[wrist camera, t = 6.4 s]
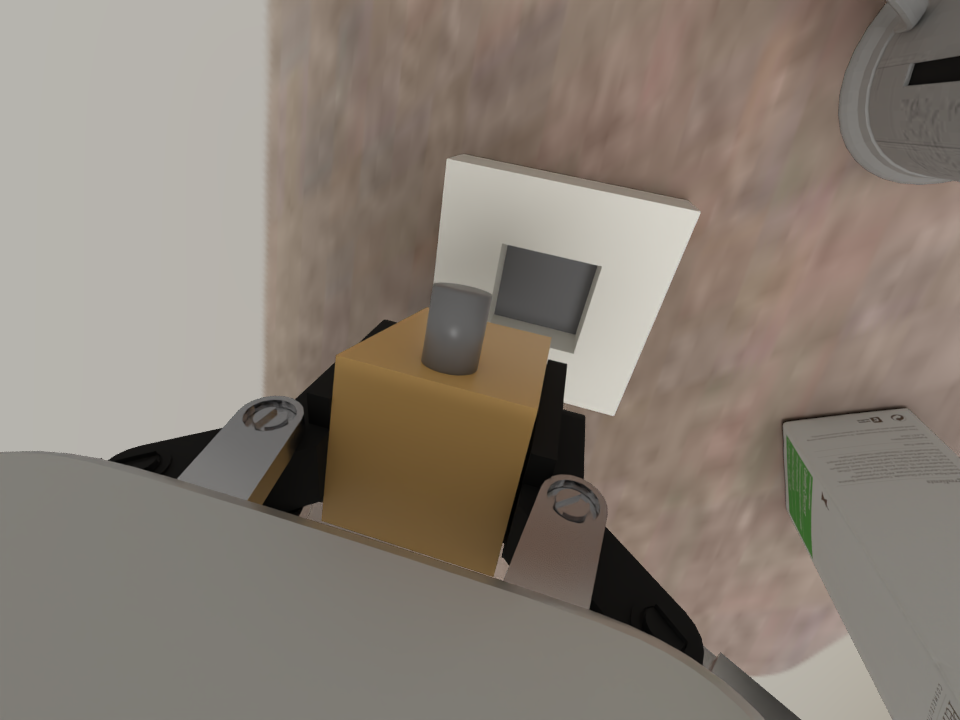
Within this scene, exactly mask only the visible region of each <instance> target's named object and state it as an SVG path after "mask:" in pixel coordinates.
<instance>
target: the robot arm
mask: <svg viewBox="0 0 960 720" xmlns="http://www.w3.org/2000/svg"><path fill="white" fill-rule="evenodd" d="M396 323H397V322H393V321H388V320H383V321H382V322H381V323H380V324H379V325H378V326H377V327H375V328H374V329H373V330H372V331H371V332H370V333H369V334H368V335H367V336H366V337H365V338H364V339H363V340H362V341H364V340H366V339H368V338H370V337H372V336H373V335H375V334H377V333H379V332H381V331H383V330H385V329H387V328H389V327H391V326H392V325H394V324H396ZM362 341H361V342H362ZM334 372H335V363H334V364H333V365H332V366H331V367H330V368H329V369H327V370H326V371H325V372H324V373H323V374H322V375H321V376H320V377H319V378H318V379H317V380H316V381H315V382H313V383H312V384H311V385H310V386H309V387H308V388H307V389H306V390H305V391H304V392H303V393H302V394H301V395H299V396H298V397H297V398H296V399H295V400H294V399H292V398H289V397H285V396H269V397H263V398H260V399H256V400H254V401H251V402H250V403H247V404H246V405H244V406H243V407H242V408H241V409H240V410H238V412H237V413H236V414H235V415H234V416H233V417H232V418H231V419H230V420H229V422H228V423H227V424H226V425H225V426H224V427H223V428H220V429H216V430H211V431H206V432H202V433H197V434H193V435H188V436H183V437H179V438H174V439H170V440H165V441H160V442H156V443H151V444H146V445H142V446H138V447H135V448H131V449H128V450H126V451H124V452H121V453H119V454H117V455H115V456H114V457H112V458H111V459H110V460H108V461H107V460H103V459H102V458H100V459H99V458H93V457H87V456H81V455H75V454H68V453H55V452H44V451H22V452H0V720H801V719H800V718H798V717H797V716H796V715H795V714H794V713H792V712H791V711H790V710H789V709H788V708H786V707H785V706H784V705H783V704H782V703H780V702H779V701H778V700H777V699H776V698H774V697H773V696H772V695H771V694H770V693H769V692H767V691H766V690H765V689H764V688H763V687H761V686H760V685H759V684H758V683H756V682H755V681H754V680H753V679H752V678H751V677H749V676H748V675H747V674H746V673H745V672H743V671H742V670H741V669H740V668H739V667H737V666H736V665H735V664H734V663H733V662H731V661H730V660H729V659H728V658H727V657H725V656H724V655H723V654H722V653H721V652H720V654H719V655H718V656H717V657H716V656H715V655H714V654H712V653H711V652H710V651H709V650H708V649H706V648H705V647H704V646H703V643H702V638H701V636H700V634H699V632H698V630H697V628H696V626H695V624H694V623H693V622H692V620H691V619H690V618H689V616H688V615H687V614H686V612H685V611H684V610H683V609H682V608H681V607H680V606H679V605H678V604H677V603H676V602H675V601H674V600H673V598H672V597H671V596H670V595H669V594H668V593H667V592H666V591H665V590H664V589H663V588H662V587H661V586H660V585H659V583H658V582H657V581H656V580H655V579H654V578H653V577H652V576H651V575H650V574H649V573H648V572H647V571H646V569H645V568H644V567H643V566H642V565H641V564H640V563H639V562H638V561H637V560H636V559H635V558H634V557H633V556H632V554H631V553H630V552H629V551H628V550H627V549H626V548H625V547H624V546H623V545H622V544H621V543H620V542H619V541H618V539H617V538H616V537H615V536H614V535H613V534H612V533H611V532H610V531H609V530H608V529H607V528H606V527H605V526H606V520H607V515H608V508H607V504H606V501H605V499H604V497H603V496H602V494H601V493H600V492H599V490H598V489H597V488H595V487H594V486H593V485H592V484H591V483H589V482H587V481H585V480H584V447H585V416H584V415H582V414H578V413H574V412H570V411H566V410H563V401H564V392H565V382H566V373H567V364H566V363H562V362H557V361H553V360H549V359H548V362H547V364H546V370H545V375H544V380H543V386H542V391H541V396H540V401H539V407H538V411H537V415H536V419H535V423H534V426H533V430H532V434H531V438H530V441H529V445H528V449H527V453H526V456H525V460H524V464H523V468H522V471H521V475H520V479H519V483H518V486H517V490H516V494H515V498H514V501H513V505H512V509H511V513H510V516H509V520H508V524H507V528H506V531H505V535H504V539H503V543H504V548H503V553H502V558H504V559H505V560H506V562H507V563H508V565H509V568H508V570H507V573H506V575H505V578H504V580H503V581H502V580H499V579H495V578H492V577H489V576H486V575H483V574H480V573H477V572H474V571H470V570H467V569H464V568H461V567H458V566H455V565H452V564H448V563H445V562H442V561H439V560H436V559H433V558H430V557H427V556H423V555H420V554H417V553H414V552H411V551H408V550H405V549H401V548H398V547H395V546H392V545H389V544H385V543H382V542H379V541H376V540H373V539H369V538H366V537H363V536H360V535H357V534H354V533H350V532H347V531H344V530H341V529H338V528H334V527H331V526H328V525H325V524H322V523H318V522H315V521H312V520H309V519H307V518H308V516H309V514H310V511H311V508H312V504H313V503H316V502H322V503H323V498H324V487H325V475H326V464H327V452H328V441H329V430H330V418H331V407H332V395H333V384H334Z"/></svg>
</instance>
